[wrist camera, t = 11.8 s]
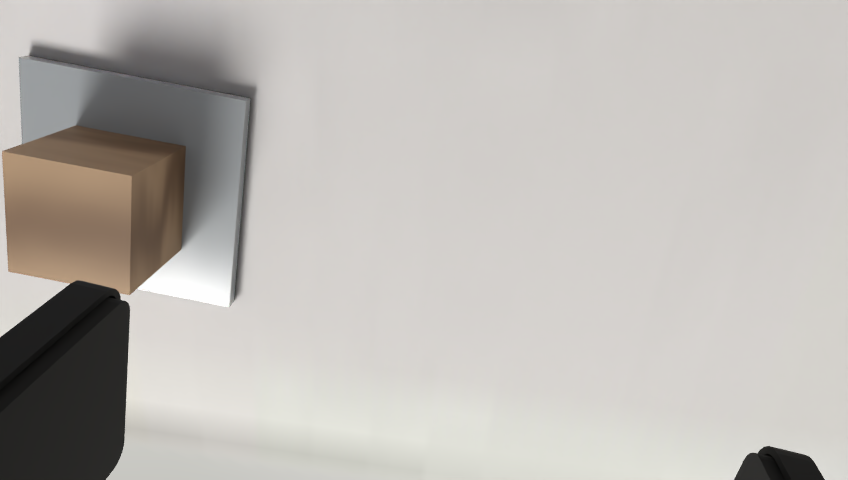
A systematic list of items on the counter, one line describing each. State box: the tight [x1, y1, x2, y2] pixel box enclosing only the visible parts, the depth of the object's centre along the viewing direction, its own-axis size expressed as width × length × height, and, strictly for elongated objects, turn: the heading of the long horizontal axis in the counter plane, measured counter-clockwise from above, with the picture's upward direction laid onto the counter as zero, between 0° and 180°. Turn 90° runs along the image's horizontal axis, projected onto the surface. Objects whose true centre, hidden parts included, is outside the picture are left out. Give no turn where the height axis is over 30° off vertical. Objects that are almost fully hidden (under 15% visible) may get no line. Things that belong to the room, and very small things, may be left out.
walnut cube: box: [2, 125, 186, 295], centre depth 35 cm, size 6×6×6 cm
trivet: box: [19, 56, 251, 307], centre depth 38 cm, size 12×12×1 cm
